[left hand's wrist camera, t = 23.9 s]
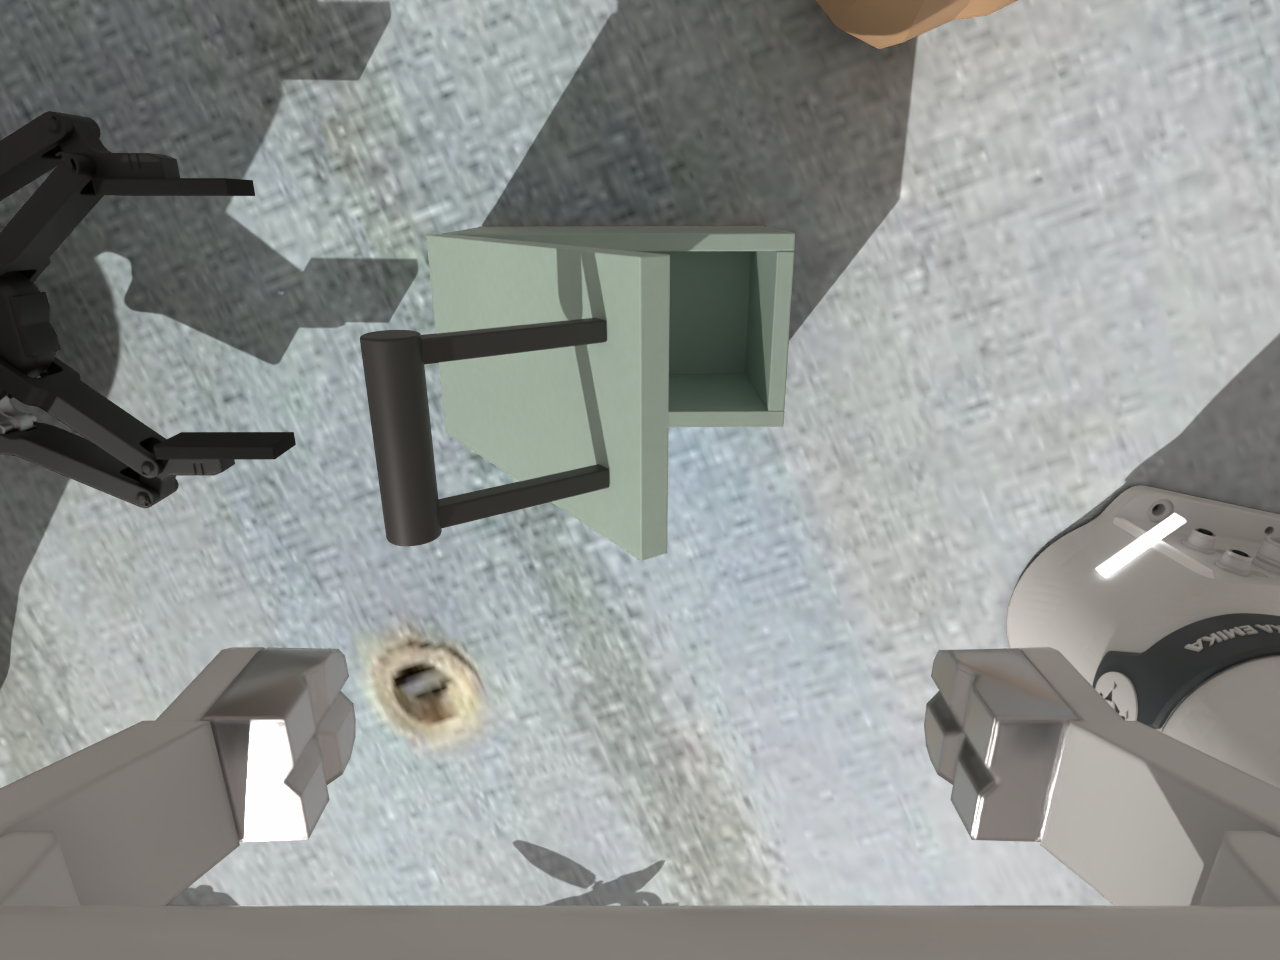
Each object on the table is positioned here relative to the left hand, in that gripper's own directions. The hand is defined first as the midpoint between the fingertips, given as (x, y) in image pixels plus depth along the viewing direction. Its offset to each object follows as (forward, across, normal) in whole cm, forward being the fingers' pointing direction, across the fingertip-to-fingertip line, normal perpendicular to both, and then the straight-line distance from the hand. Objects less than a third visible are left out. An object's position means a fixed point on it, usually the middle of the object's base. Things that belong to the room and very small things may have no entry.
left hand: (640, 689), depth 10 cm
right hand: (+32, +20, 0) cm, 38 cm away
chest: (+38, +1, 0) cm, 39 cm away
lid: (+21, +4, 0) cm, 22 cm away
